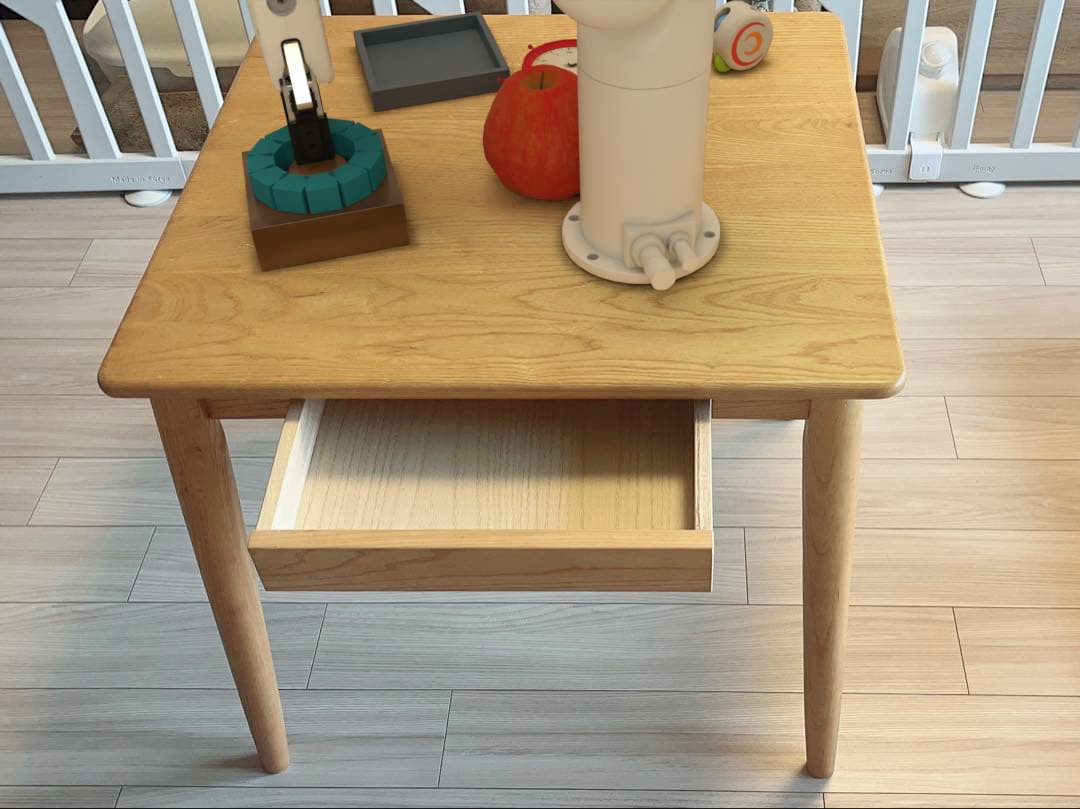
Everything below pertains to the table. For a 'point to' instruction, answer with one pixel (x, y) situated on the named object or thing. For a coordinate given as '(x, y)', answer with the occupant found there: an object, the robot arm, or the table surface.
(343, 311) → the table surface
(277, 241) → the platform
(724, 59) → the roller toy
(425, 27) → the tray
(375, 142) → the ring
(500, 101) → the apple
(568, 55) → the alarm clock
